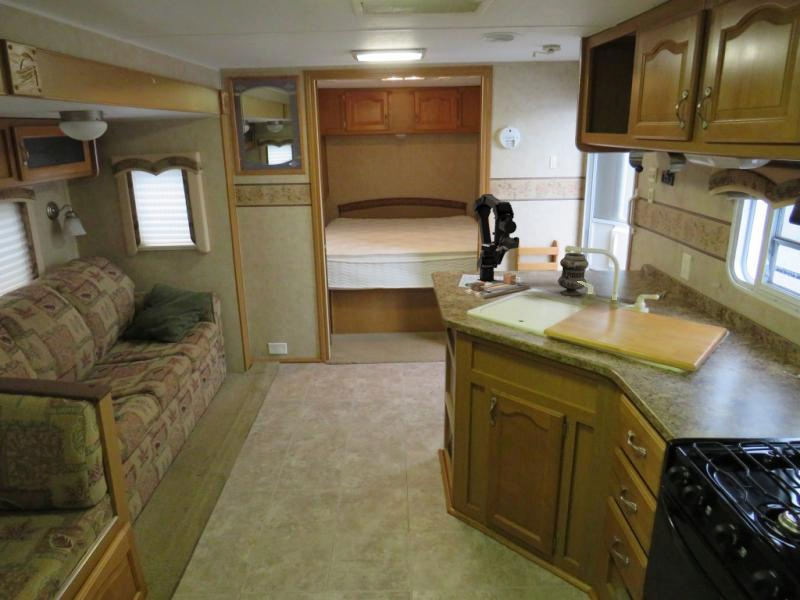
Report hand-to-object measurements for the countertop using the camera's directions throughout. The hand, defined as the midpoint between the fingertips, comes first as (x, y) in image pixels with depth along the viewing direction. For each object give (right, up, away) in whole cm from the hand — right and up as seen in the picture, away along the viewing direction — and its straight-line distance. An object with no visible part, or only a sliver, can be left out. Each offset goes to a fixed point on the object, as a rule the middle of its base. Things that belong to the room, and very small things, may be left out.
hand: (499, 264), depth 249 cm
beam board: (-1, -12, -1) cm, 12 cm away
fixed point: (-9, -12, -7) cm, 16 cm away
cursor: (+8, -9, +5) cm, 13 cm away
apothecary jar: (+31, -14, -7) cm, 34 cm away
